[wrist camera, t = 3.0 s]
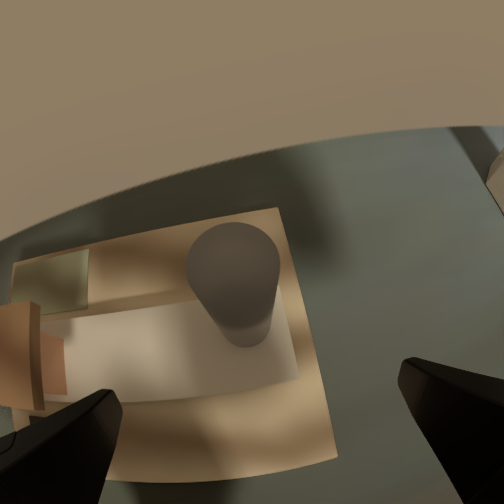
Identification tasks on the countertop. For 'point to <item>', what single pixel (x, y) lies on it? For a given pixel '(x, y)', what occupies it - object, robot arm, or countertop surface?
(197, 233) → the board
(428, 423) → the robot arm
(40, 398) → the tunnel
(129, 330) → the knobbed beige slab
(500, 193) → the jar
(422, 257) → the countertop surface
